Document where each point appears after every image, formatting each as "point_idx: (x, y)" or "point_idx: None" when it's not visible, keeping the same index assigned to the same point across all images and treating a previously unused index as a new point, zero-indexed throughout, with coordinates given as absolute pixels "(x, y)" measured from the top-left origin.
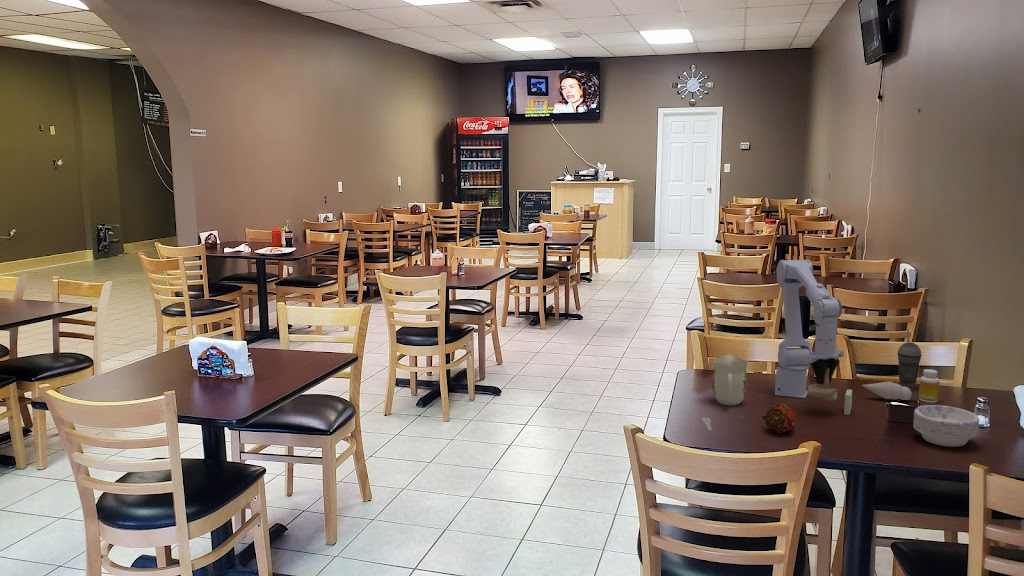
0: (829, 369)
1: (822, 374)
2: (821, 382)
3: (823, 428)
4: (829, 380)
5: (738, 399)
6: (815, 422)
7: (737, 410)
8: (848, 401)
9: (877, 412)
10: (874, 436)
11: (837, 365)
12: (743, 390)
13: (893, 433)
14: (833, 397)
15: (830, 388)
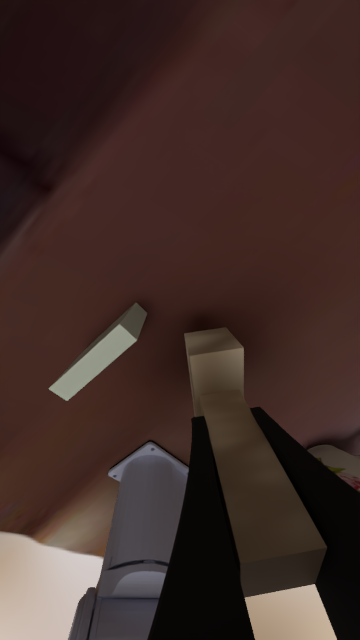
0: (236, 537)
1: (330, 470)
2: (269, 418)
3: (314, 228)
4: (207, 428)
5: (340, 454)
6: (284, 286)
7: (351, 419)
8: (131, 320)
9: (24, 288)
10: (242, 45)
11: (162, 619)
12: (355, 479)
13: (137, 31)
14: (209, 334)
15: (205, 381)
